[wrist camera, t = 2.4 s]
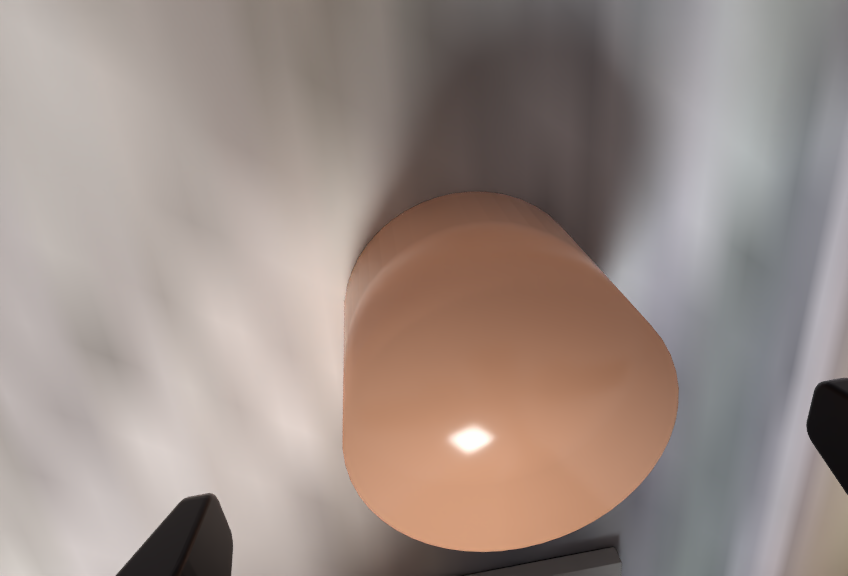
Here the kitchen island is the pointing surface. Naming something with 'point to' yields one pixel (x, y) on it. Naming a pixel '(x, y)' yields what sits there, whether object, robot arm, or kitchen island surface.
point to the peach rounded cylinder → (495, 378)
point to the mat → (567, 566)
